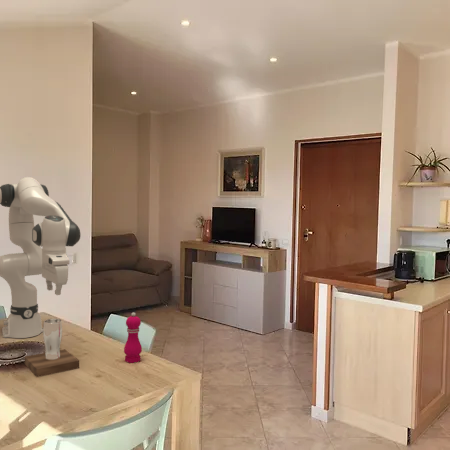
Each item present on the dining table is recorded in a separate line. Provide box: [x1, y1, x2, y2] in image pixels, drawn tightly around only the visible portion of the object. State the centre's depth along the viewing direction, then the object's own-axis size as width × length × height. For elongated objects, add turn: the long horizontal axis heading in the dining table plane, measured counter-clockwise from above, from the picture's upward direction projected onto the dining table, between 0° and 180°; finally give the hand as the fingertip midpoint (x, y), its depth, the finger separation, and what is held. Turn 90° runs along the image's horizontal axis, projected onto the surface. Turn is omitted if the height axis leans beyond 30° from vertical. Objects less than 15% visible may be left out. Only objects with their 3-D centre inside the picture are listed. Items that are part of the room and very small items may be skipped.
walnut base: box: [24, 348, 80, 378], centre depth 183 cm, size 16×16×3 cm
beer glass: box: [42, 318, 63, 361], centre depth 183 cm, size 7×7×15 cm
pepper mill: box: [123, 312, 143, 364], centre depth 191 cm, size 7×7×20 cm
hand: (53, 292), depth 183 cm, fingers open, 8 cm apart
